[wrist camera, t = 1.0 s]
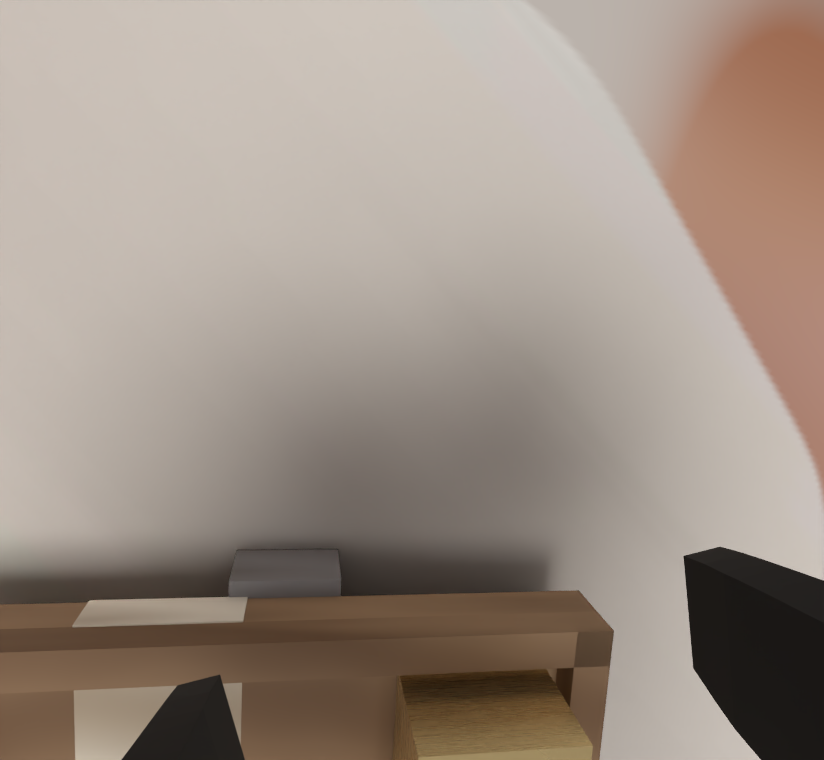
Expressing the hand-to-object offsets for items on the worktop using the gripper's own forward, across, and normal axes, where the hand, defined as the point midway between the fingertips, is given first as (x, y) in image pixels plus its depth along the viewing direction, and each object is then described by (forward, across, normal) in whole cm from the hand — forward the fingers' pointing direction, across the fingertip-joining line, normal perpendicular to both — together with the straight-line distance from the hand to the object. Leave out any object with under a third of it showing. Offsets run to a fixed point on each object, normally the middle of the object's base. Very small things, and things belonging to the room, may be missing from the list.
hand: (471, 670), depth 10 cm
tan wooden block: (+7, 0, +7) cm, 9 cm away
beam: (+10, +4, +6) cm, 12 cm away
